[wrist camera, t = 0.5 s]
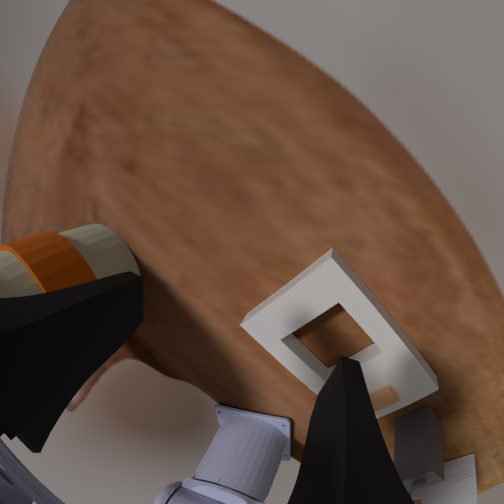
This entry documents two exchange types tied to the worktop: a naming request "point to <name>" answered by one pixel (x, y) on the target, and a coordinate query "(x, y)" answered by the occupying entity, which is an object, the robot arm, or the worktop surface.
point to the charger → (419, 451)
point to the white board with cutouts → (363, 312)
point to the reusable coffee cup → (62, 260)
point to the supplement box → (455, 483)
